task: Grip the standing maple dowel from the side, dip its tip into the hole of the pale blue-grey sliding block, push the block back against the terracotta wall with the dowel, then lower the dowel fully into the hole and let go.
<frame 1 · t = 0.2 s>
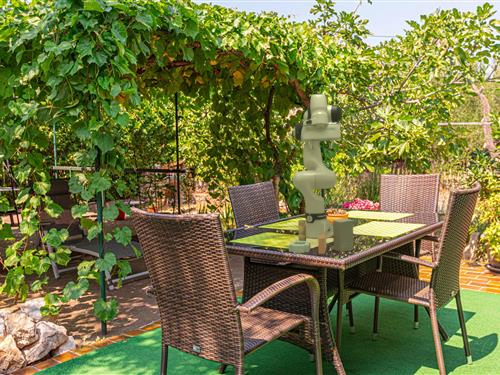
hand: (321, 148, 260), 52 cm above the table, tool tilted 20°, fingers open, 8 cm apart
wall: (322, 250, 258), on the table
dowel: (302, 246, 270), on the table
skincare box: (343, 251, 257), on the table
block: (299, 246, 260), point 2 cm above the table, slide at 0.0 cm
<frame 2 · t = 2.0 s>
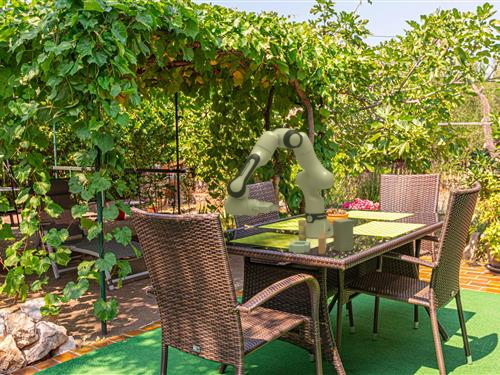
hand: (279, 208, 271), 21 cm above the table, tool horizontal, fingers open, 8 cm apart
nothing on the table moved.
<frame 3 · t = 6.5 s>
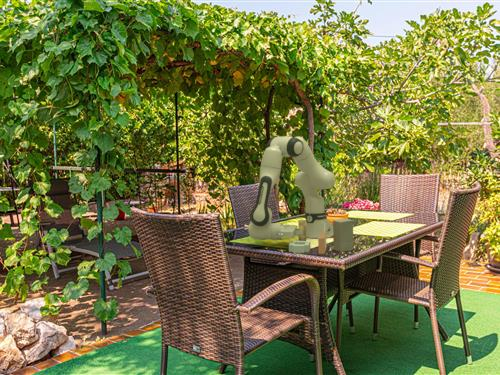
hand: (304, 231, 270), 8 cm above the table, tool horizontal, fingers closed on dowel, 4 cm apart
dowel: (302, 246, 270), on the table, touching gripper
everything else where it was.
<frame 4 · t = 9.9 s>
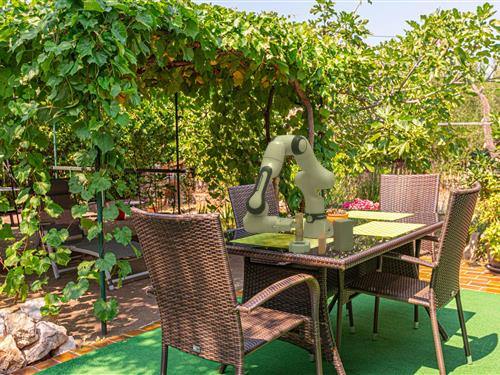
hand: (301, 224, 259), 13 cm above the table, tool horizontal, fingers closed on dowel, 4 cm apart
dowel: (299, 240, 259), point 5 cm above the table, touching gripper
everything else where it was.
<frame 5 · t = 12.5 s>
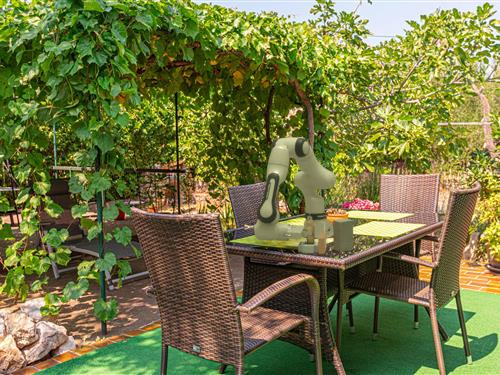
hand: (312, 232, 258), 9 cm above the table, tool horizontal, fingers closed on dowel, 4 cm apart
dowel: (310, 248, 259), point 1 cm above the table, touching block, gripper
block: (309, 246, 259), point 2 cm above the table, slide at 4.8 cm, touching dowel
everything else where it was.
when the fingers open (9 cm above the table, at t = 13.5 s): dowel stays where it is, resting in block.
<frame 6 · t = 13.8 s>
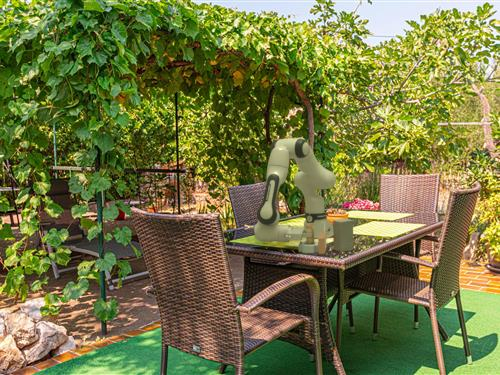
hand: (312, 233, 258), 9 cm above the table, tool horizontal, fingers open, 7 cm apart
dowel: (310, 250, 259), resting in block
block: (309, 246, 259), point 2 cm above the table, slide at 4.8 cm
everything else where it was.
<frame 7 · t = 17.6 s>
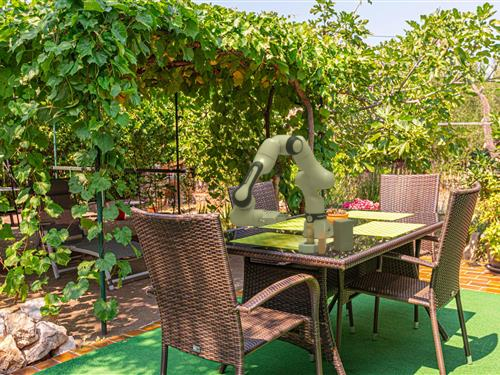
hand: (287, 217, 260), 17 cm above the table, tool horizontal, fingers open, 8 cm apart
nothing on the table moved.
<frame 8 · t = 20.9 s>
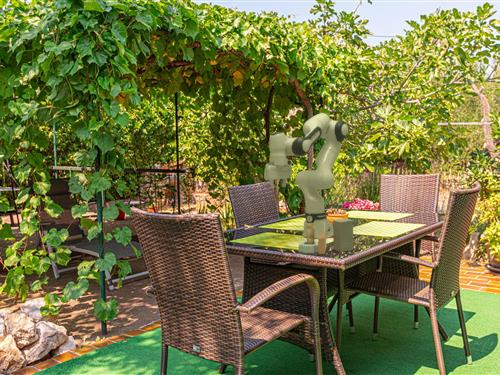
hand: (278, 187, 276), 31 cm above the table, tool pointing down, fingers open, 8 cm apart
nothing on the table moved.
at the end: block slide at 4.8 cm; dowel 0.5 cm from the target spot, resting in block; dowel tilted 0° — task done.
